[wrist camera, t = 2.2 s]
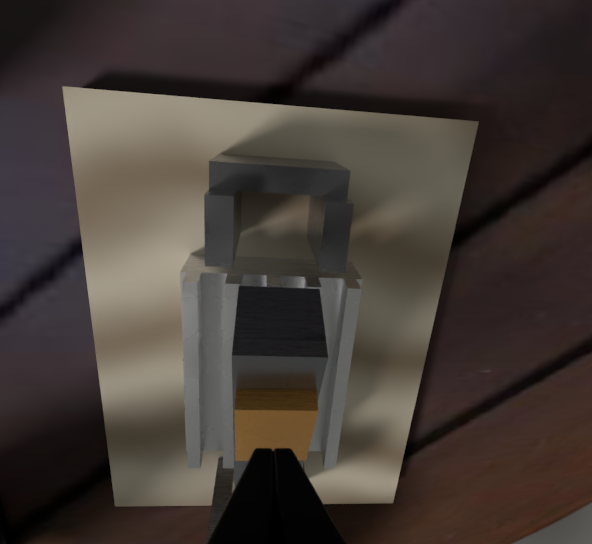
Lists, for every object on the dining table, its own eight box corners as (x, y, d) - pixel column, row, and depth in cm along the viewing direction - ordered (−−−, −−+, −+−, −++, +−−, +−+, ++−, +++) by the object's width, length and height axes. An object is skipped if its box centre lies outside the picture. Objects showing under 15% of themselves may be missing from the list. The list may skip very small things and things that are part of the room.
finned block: (330, 419, 23) (341, 468, 20) (193, 418, 22) (181, 468, 19) (351, 261, 20) (368, 289, 16) (190, 253, 19) (174, 281, 16)
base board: (386, 483, 28) (392, 503, 26) (123, 485, 26) (114, 506, 24) (463, 121, 19) (478, 121, 18) (78, 89, 17) (62, 86, 16)
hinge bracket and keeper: (300, 481, 25) (310, 581, 19) (218, 482, 24) (204, 584, 19) (334, 161, 18) (364, 178, 12) (220, 153, 17) (199, 167, 12)
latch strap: (281, 497, 22) (281, 562, 20) (239, 498, 22) (234, 564, 20) (319, 289, 12) (331, 378, 9) (238, 285, 11) (229, 376, 9)
